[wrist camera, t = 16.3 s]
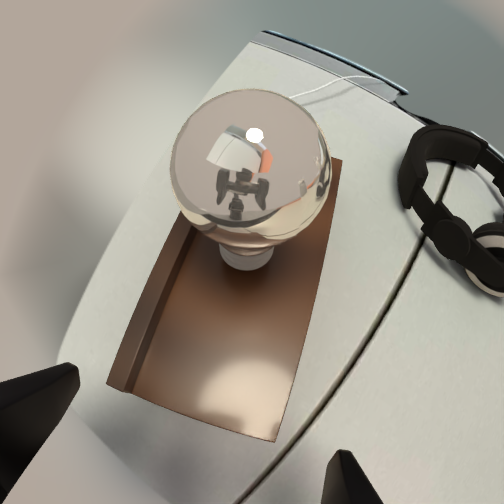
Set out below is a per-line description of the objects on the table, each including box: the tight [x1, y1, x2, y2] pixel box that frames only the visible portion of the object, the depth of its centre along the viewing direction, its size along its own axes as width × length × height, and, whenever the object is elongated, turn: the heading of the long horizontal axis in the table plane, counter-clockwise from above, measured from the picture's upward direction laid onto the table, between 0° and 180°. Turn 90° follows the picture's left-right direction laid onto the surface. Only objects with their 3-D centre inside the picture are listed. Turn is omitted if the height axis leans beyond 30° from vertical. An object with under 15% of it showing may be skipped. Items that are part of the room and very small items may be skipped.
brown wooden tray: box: [106, 157, 342, 443], centre depth 22 cm, size 22×10×6 cm, turn 163°
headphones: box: [398, 125, 504, 297], centre depth 26 cm, size 18×8×20 cm
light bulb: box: [170, 88, 332, 270], centre depth 16 cm, size 7×7×12 cm
